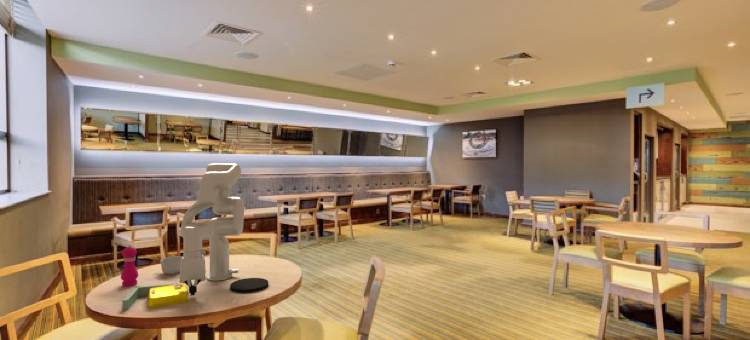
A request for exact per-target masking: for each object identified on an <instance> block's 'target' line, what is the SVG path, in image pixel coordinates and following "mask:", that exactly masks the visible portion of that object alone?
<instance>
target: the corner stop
mask: <svg viewBox="0 0 750 340" xmlns="http://www.w3.org/2000/svg"><path fill="white" fill-rule="evenodd" d="M170 285H178V283H177V282H174V283H163V284H162V283H161V284H151V285H137V286H136V285H135V286H134V287H133V289H132V290H130V292H129V293H128V294H127V295H126V296H125V297H124V298H123V299H122V300H121V301H122V309H121V310H122V311H127V310H129V309H131V307H132V306H133V304H134V303H135V301H137V299H139V297H146V296H147V297H148V295H149V289H151V288H156V287H163V286H170Z"/></svg>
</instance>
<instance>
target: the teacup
mask: <svg viewBox="0 0 750 340" xmlns="http://www.w3.org/2000/svg"><path fill="white" fill-rule="evenodd" d="M182 257H183V256H181V255H175V256H174V255H173V256H168V257H161V258H160V261H159V263H160V267H161V271H162V272H163V274H165V275H169V276H170V275H176V274H180V266H181V259H182Z"/></svg>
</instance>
